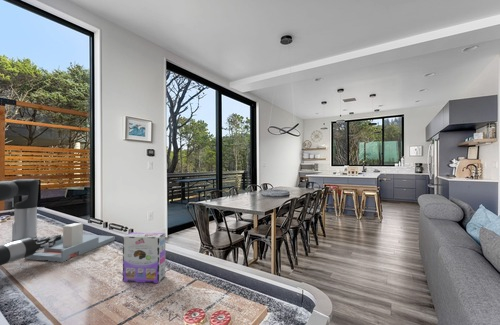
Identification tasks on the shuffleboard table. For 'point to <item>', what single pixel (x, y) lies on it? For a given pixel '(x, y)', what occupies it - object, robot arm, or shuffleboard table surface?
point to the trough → (70, 248)
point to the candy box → (144, 257)
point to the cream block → (72, 234)
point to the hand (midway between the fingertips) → (59, 237)
